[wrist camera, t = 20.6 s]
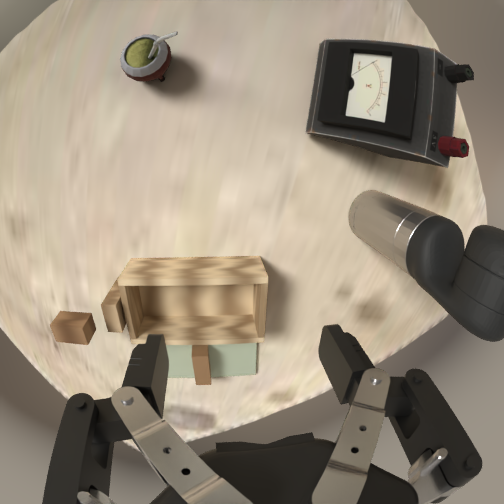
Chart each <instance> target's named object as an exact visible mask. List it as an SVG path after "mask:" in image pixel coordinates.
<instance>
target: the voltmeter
mask: <svg viewBox="0 0 504 504" xmlns="http://www.w3.org/2000/svg"><path fill="white" fill-rule="evenodd" d="M473 74H474V72H473V71H472V69H471V67H470V66H469V65H459V64H458V65H457V64H456V63H455V62H453V61H452V60H451V59H449V58H448V57H446V56H445V55H443V54H442V53H441V52H439V51H438V50H436V49H435V48H430V47H424V46H418V45H412V44H405V43H397V42H388V41H377V40H362V39H325V40H323V41H322V42H321V43H320V44H319V51H318V58H317V65H316V71H315V78H314V84H313V90H312V97H311V103H310V109H309V115H308V121H307V127H306V133H307V134H311V135H316V136H320V137H324V138H327V139H331V140H335V141H339V142H342V143H346V144H349V145H353V146H356V147H360V148H363V149H366V150H369V151H372V152H375V153H379V154H382V155H385V156H388V157H392V158H398V159H404V160H410V161H416V162H422V163H427V164H432V165H437V166H442V167H447V168H448V165H449V160H450V156H451V157H461V158H464V157H466V156H468V152H469V145H468V143H467V141H466V140H465V139H460V138H455V137H453V131H454V122H455V111H456V95H457V83H460V82H465V81H466V80H474V75H473Z"/></svg>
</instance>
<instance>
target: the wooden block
mask: <svg viewBox="0 0 504 504" xmlns="http://www.w3.org/2000/svg"><path fill="white" fill-rule="evenodd" d="M50 327H51V329H52V332H53V335H54V337H55V340H56V341H57V342H65V343H73V344H83V345H88V344H89V342H90V340H91V338H92V336H93V334H94V332H95V331H96V327H95V323H94V320H93V317H92V313H82V312H66V311H60V312H59V314H58V315H57V316H56V318H55V319H54V320H53V322H52V323H51V325H50Z"/></svg>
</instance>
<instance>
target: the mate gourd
mask: <svg viewBox="0 0 504 504" xmlns="http://www.w3.org/2000/svg"><path fill="white" fill-rule="evenodd" d="M176 35H177V31H176V32H173V33H170V34H167V35H164V36H162V37H158V36H156V35H142V36H139V37H136V38H135V39H133V40H132V41H130V42H129V43H128V44H127V45H126V47H125V48H124V49H123V51H122V54H121V58H120V60H121V67H122V69H123V71H124V72H125V73H126V75H127V76H128V77H130V78H132V79H134V80H136V81H150V80H154V79H157V78H158V79H159V80H160V81H161V82H162V81H164V80H165V78H164V76H163V74H164V73H165V71H166V70H167V68H168V67H169V64H170V60H171V51H170V47H169V45H168V44H167V43H166V42H165V39H168V38H170V37H173V36H176Z"/></svg>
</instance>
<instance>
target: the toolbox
mask: <svg viewBox="0 0 504 504" xmlns="http://www.w3.org/2000/svg"><path fill="white" fill-rule="evenodd" d="M267 290H268V275H267V273H266V270H265V268H264V265H263V263H262V260H261V258H260V256H236V257H184V258H131V259H130V261H129V262H128V264H127V265H126V267H125V268H124V270H123V271H122V273H121V275H120V276H119V277H118V278H117V280H116V281H115V283H114V285H113V286H112V288H111V289H110V291H109V293H108V294H107V296H106V297H105V299H104V301H103V302H102V304H101V307H102V311H103V315H104V318H105V322H106V326H107V329H108V332H121V333H122V332H123V330H124V327H125V325H126V323H127V327H128V331H129V335H130V339H131V343H132V344H145V343H146V340H147V336H148V334H163V335H164V338H165V343H166V345H219V344H243V343H261V342H264V336H265V321H266V306H267Z"/></svg>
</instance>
